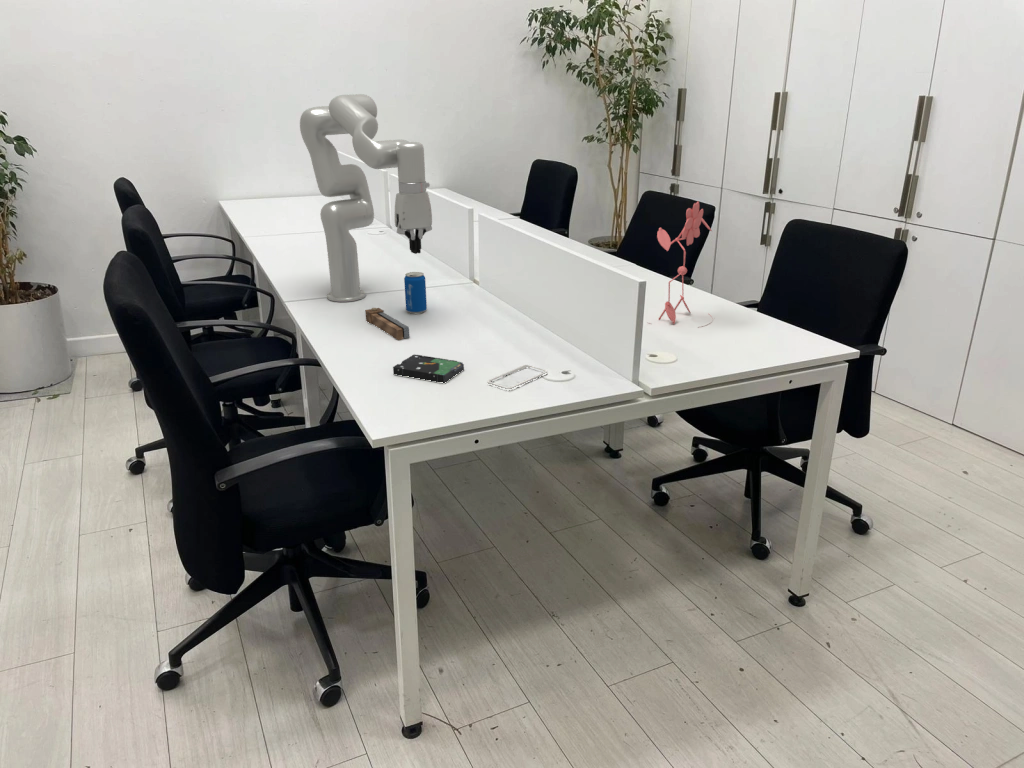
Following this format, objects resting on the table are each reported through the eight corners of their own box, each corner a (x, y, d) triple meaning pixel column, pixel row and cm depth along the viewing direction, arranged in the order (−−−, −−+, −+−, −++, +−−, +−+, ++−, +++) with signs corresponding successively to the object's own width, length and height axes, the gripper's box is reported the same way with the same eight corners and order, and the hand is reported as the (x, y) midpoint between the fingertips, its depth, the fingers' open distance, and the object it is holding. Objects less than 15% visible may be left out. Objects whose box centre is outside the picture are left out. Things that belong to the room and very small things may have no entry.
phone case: (509, 393, 182) (548, 375, 192) (509, 388, 182) (548, 370, 192) (486, 386, 186) (525, 368, 197) (485, 381, 186) (525, 363, 196)
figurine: (642, 326, 227) (652, 205, 213) (681, 306, 246) (693, 194, 232) (690, 337, 218) (704, 212, 205) (727, 315, 237) (742, 200, 224)
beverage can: (402, 312, 241) (399, 275, 237) (413, 307, 246) (411, 270, 242) (419, 315, 238) (417, 277, 234) (430, 310, 244) (429, 272, 239)
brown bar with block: (366, 321, 233) (365, 308, 232) (379, 318, 235) (378, 305, 234) (396, 340, 217) (395, 326, 215) (410, 337, 219) (410, 323, 217)
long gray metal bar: (378, 322, 231) (377, 312, 230) (383, 321, 232) (382, 312, 231) (404, 338, 218) (403, 328, 217) (409, 337, 218) (408, 327, 217)
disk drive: (392, 377, 193) (445, 385, 187) (392, 367, 192) (444, 374, 186) (414, 363, 201) (464, 371, 196) (413, 353, 200) (464, 360, 195)
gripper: (429, 184, 224) (432, 247, 231) (382, 188, 217) (386, 253, 224) (442, 187, 218) (444, 251, 225) (393, 192, 211) (397, 258, 218)
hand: (415, 252), depth 225 cm, fingers closed
